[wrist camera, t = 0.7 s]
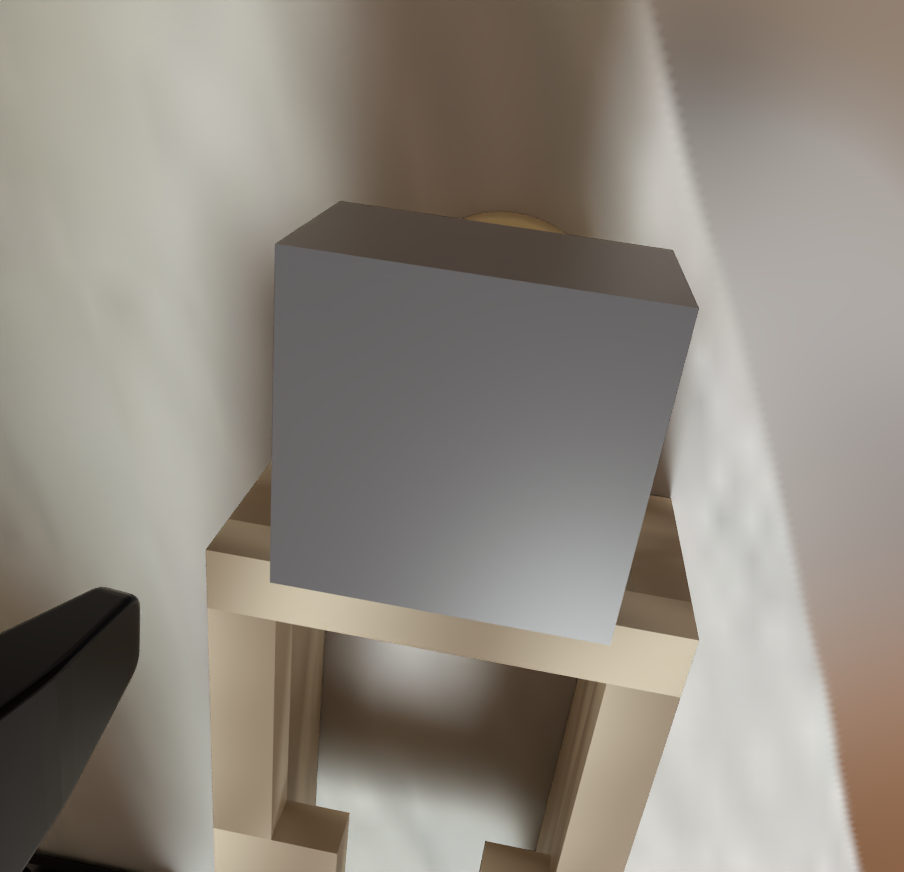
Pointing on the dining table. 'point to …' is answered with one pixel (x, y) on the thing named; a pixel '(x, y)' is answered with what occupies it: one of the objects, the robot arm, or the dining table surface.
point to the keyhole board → (312, 612)
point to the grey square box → (470, 413)
